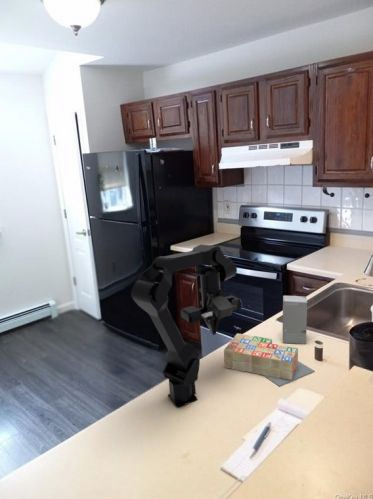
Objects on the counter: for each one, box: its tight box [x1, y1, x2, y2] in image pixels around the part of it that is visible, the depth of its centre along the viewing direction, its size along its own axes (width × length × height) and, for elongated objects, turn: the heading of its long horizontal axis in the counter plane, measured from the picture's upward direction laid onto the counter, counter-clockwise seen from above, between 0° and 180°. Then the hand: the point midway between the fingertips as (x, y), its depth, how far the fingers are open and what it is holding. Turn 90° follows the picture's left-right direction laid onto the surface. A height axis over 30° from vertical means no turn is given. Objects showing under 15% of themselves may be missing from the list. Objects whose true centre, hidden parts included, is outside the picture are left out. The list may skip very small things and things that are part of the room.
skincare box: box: [282, 295, 308, 345], centre depth 133 cm, size 8×7×16 cm
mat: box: [262, 360, 315, 388], centre depth 118 cm, size 14×16×1 cm
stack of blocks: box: [223, 333, 299, 380], centre depth 119 cm, size 21×6×12 cm
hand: (213, 334), depth 115 cm, fingers closed
